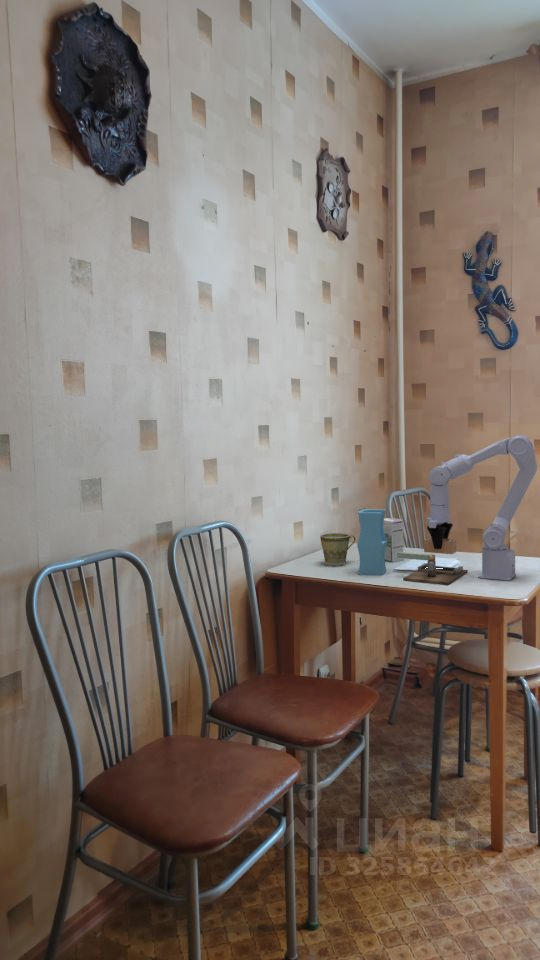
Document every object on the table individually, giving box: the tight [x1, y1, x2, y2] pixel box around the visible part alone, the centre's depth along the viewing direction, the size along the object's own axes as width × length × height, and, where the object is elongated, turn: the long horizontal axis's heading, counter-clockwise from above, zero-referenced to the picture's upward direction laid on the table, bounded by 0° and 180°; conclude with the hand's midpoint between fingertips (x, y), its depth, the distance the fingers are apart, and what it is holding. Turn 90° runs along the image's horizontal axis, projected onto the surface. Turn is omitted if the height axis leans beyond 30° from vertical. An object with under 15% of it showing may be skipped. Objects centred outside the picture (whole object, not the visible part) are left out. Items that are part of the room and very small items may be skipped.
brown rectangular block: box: [423, 537, 457, 555], centre depth 223 cm, size 9×4×4 cm, turn 58°
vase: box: [356, 508, 387, 577], centre depth 228 cm, size 8×8×20 cm
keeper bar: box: [397, 551, 436, 562], centre depth 219 cm, size 12×2×2 cm, turn 58°
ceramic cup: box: [319, 532, 356, 567], centre depth 243 cm, size 13×10×10 cm
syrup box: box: [383, 517, 404, 563], centre depth 247 cm, size 6×6×14 cm
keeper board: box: [402, 560, 469, 586], centre depth 220 cm, size 14×19×6 cm
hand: (440, 547), depth 223 cm, fingers closed on brown rectangular block, 4 cm apart
